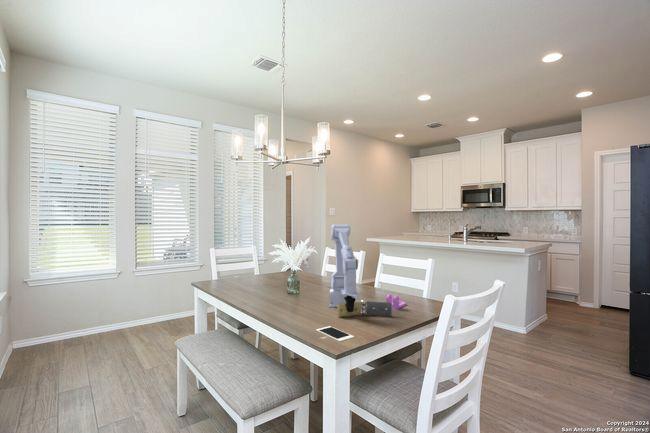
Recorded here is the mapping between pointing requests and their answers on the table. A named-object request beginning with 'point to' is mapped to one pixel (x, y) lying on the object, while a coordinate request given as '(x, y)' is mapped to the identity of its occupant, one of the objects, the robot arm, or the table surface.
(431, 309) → the table surface
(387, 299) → the bracket
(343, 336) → the cell phone
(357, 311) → the brass leaf
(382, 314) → the dark grey piece
